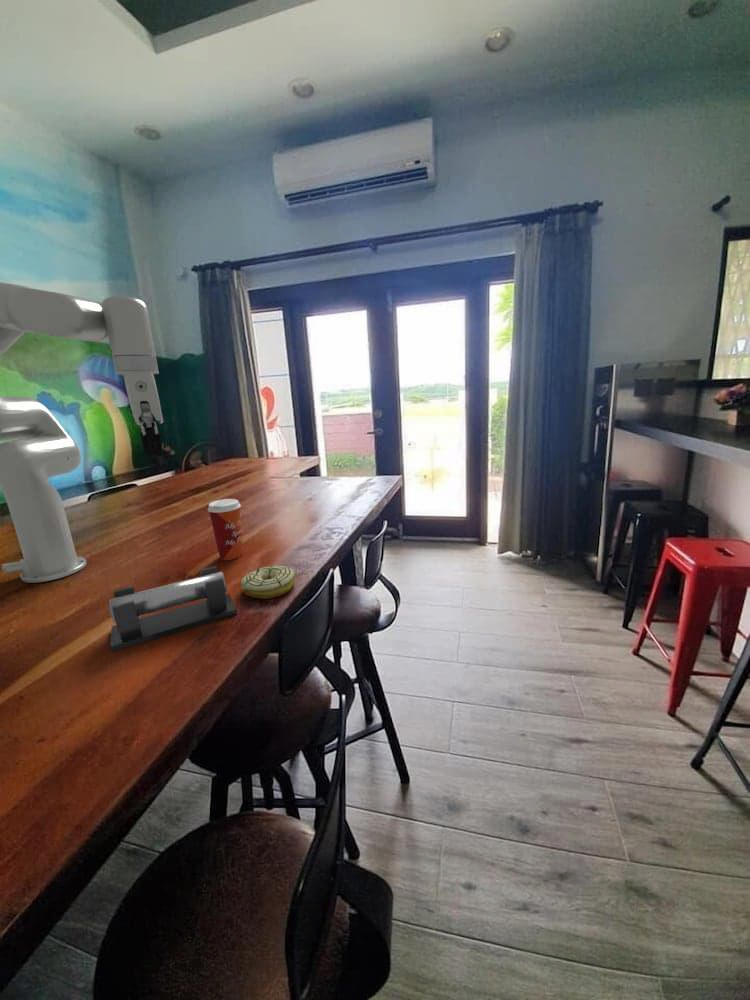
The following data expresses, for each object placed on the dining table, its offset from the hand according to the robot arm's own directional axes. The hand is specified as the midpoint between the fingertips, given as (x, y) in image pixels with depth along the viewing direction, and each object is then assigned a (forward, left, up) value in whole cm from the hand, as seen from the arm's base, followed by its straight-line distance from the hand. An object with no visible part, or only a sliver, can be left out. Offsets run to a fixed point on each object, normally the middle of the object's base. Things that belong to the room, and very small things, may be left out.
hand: (153, 452), depth 85 cm
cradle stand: (-2, -22, -28) cm, 36 cm away
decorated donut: (+16, -19, -29) cm, 38 cm away
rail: (-2, -22, -23) cm, 32 cm away
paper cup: (+13, +4, -28) cm, 32 cm away
